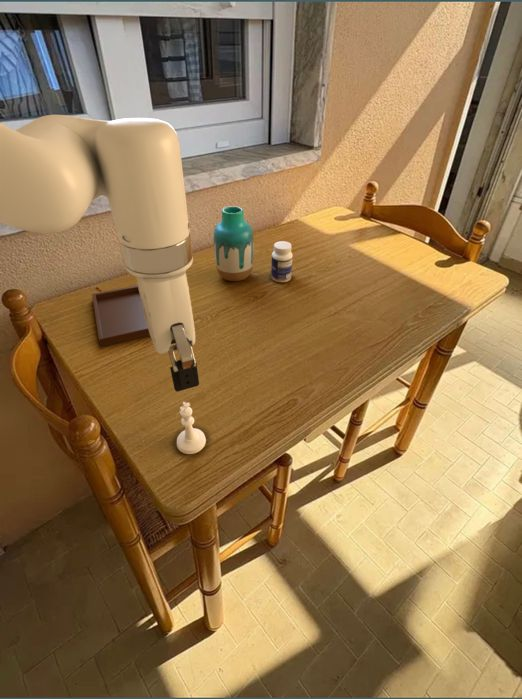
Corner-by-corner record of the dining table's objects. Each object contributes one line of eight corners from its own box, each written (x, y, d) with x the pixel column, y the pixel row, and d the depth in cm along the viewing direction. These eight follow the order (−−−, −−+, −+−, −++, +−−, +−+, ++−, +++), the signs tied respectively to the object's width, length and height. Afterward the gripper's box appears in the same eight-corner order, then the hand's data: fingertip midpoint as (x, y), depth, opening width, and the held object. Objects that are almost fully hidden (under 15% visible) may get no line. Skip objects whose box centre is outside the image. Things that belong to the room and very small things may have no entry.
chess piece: (171, 440, 65) (161, 401, 58) (194, 425, 68) (188, 386, 61) (187, 459, 62) (179, 420, 56) (211, 442, 65) (206, 403, 58)
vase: (216, 288, 102) (211, 218, 90) (215, 269, 110) (210, 202, 98) (255, 286, 103) (256, 217, 91) (251, 267, 111) (251, 201, 99)
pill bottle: (269, 273, 109) (270, 240, 102) (289, 272, 109) (291, 239, 103) (272, 283, 105) (273, 250, 98) (292, 282, 105) (295, 249, 99)
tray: (101, 346, 83) (98, 339, 82) (94, 300, 97) (91, 293, 96) (163, 332, 87) (161, 325, 86) (148, 290, 101) (146, 283, 100)
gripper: (112, 225, 47) (140, 334, 58) (135, 297, 35) (164, 417, 46) (172, 217, 49) (188, 323, 60) (214, 281, 37) (223, 399, 48)
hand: (177, 363), depth 53 cm, fingers open, 9 cm apart
